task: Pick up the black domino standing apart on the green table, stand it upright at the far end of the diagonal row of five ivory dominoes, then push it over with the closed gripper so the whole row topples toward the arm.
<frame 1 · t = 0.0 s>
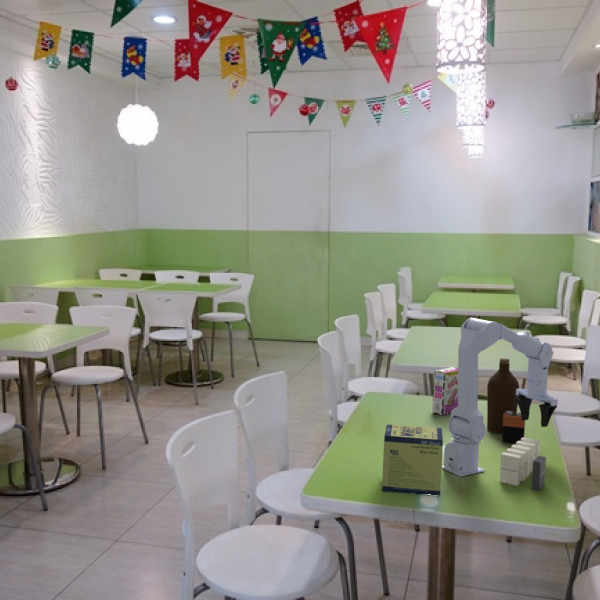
hand: (534, 423, 213), 10 cm above the table, tool pointing down, fingers open, 7 cm apart
battery: (512, 442, 226), on the table
domino 3: (524, 469, 201), on the table
domino 4: (519, 474, 197), on the table
domino 5: (514, 478, 194), on the table
olive oil: (501, 430, 239), on the table
domino 6: (509, 482, 191), on the table
candy bar box: (446, 412, 260), on the table
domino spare: (537, 487, 188), on the table
protein box: (411, 487, 187), on the table
domino 2: (528, 465, 204), on the table
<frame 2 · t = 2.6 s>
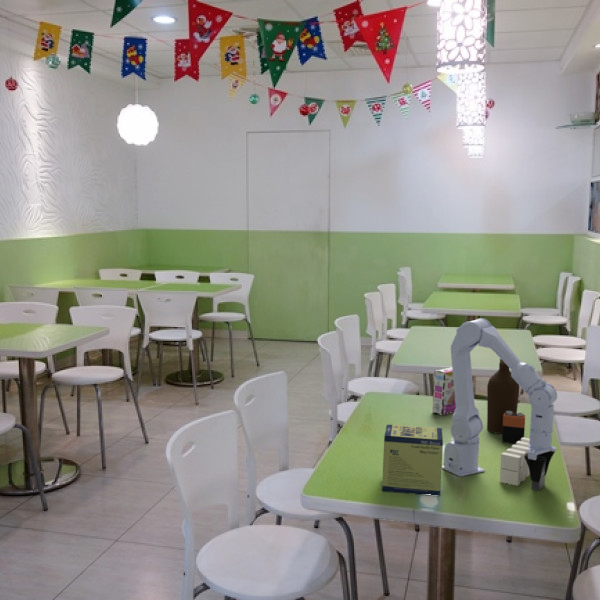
hand: (538, 478, 187), 3 cm above the table, tool pointing down, fingers closed on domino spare, 5 cm apart
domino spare: (537, 487, 188), on the table, touching gripper
everything else where it was.
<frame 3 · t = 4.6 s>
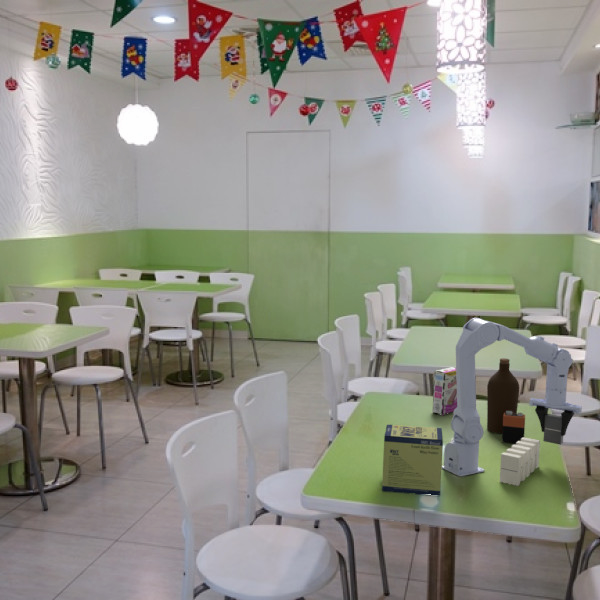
hand: (553, 433, 203), 10 cm above the table, tool pointing down, fingers closed on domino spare, 5 cm apart
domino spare: (553, 442, 204), point 7 cm above the table, touching gripper
everything else where it was.
when the fingers open (3 cm above the table, at t = 6.9 s): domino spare stays where it is, on the table.
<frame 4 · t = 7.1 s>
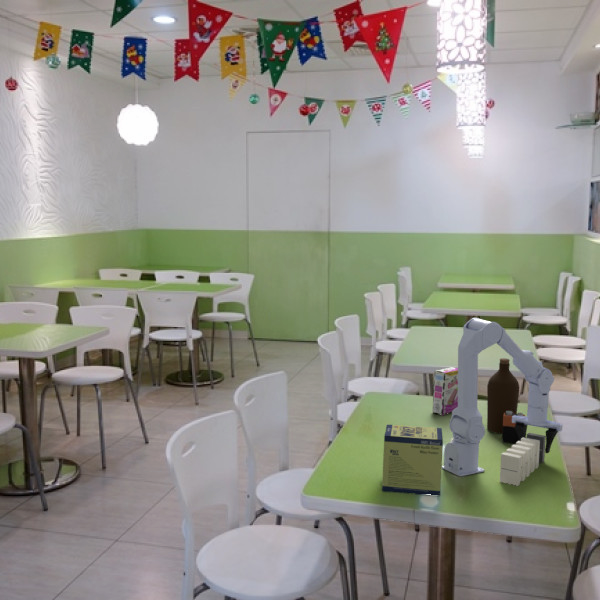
hand: (535, 449, 208), 3 cm above the table, tool pointing down, fingers open, 7 cm apart
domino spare: (534, 460, 209), on the table
everything else where it was.
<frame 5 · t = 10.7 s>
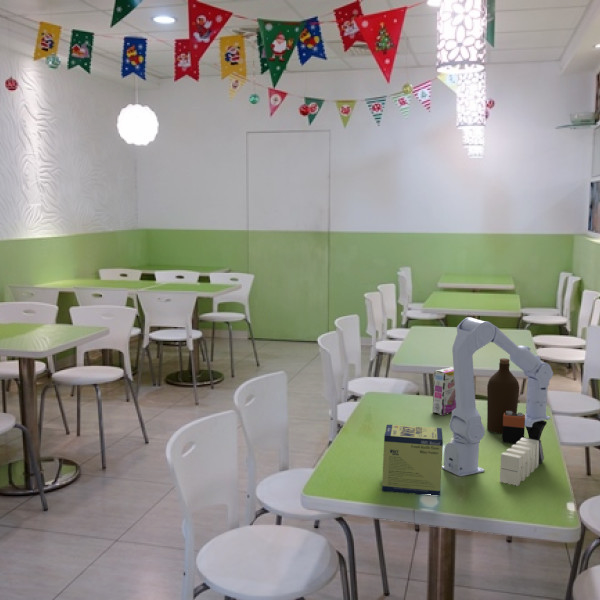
hand: (534, 444, 207), 5 cm above the table, tool pointing down, fingers closed
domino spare: (534, 459, 208), point 1 cm above the table, tilted 33°
domino 2: (528, 465, 204), on the table, tilted 7°
everything else where it was.
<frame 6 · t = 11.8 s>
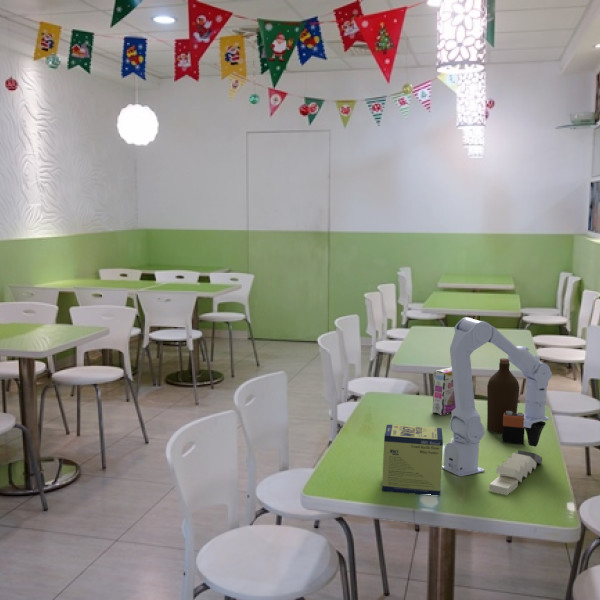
hand: (533, 445, 206), 5 cm above the table, tool pointing down, fingers closed
domino 3: (523, 468, 200), point 1 cm above the table, tilted 61°, touching domino 2, domino 4
domino 4: (518, 472, 196), point 1 cm above the table, tilted 62°, touching domino 3
domino 5: (513, 476, 193), point 1 cm above the table, tilted 62°, touching domino 6
domino 6: (508, 481, 190), point 1 cm above the table, tilted 90°, touching domino 5
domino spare: (533, 459, 207), point 1 cm above the table, tilted 66°, touching domino 2
domino 2: (527, 464, 203), point 1 cm above the table, tilted 61°, touching domino 3, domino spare
everything else where it was.
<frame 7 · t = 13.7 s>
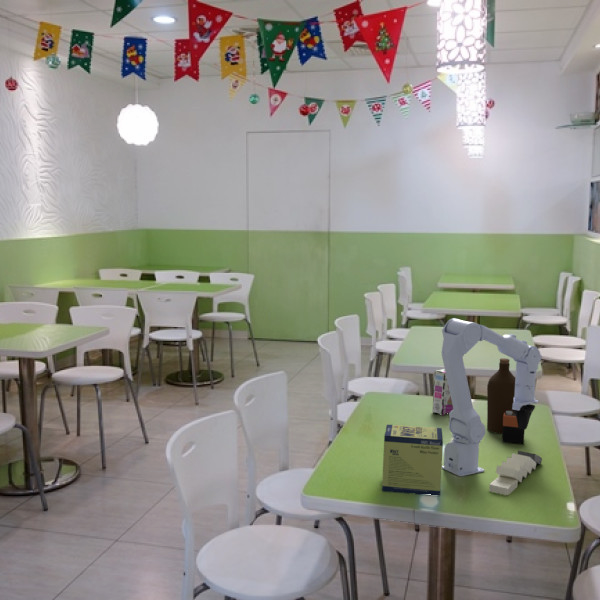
hand: (522, 428, 207), 10 cm above the table, tool pointing down, fingers closed
domino 4: (517, 472, 196), point 1 cm above the table, tilted 61°, touching domino 3, domino 5
domino 5: (513, 477, 193), point 1 cm above the table, tilted 61°, touching domino 4, domino 6
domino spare: (533, 459, 207), point 1 cm above the table, tilted 66°
domino 2: (527, 464, 203), point 1 cm above the table, tilted 61°, touching domino 3
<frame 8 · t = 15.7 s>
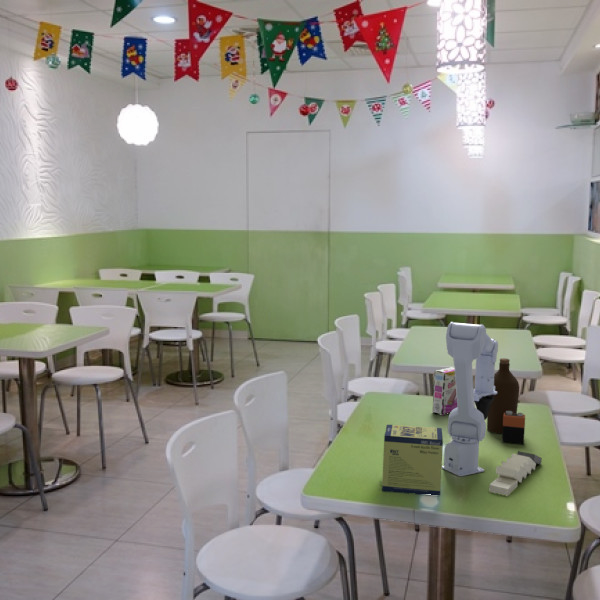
hand: (482, 418, 215), 10 cm above the table, tool pointing down, fingers closed
domino 4: (517, 473, 196), point 1 cm above the table, tilted 61°, touching domino 3
domino 5: (513, 477, 192), point 1 cm above the table, tilted 61°, touching domino 6
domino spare: (532, 459, 207), point 1 cm above the table, tilted 67°, touching domino 2
domino 2: (526, 465, 202), point 1 cm above the table, tilted 61°, touching domino 3, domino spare
at the end: domino 6 tilted 90°; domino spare tilted 67°; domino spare inside the target area (1.7 cm from its centre), point 0.9 cm above the table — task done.
